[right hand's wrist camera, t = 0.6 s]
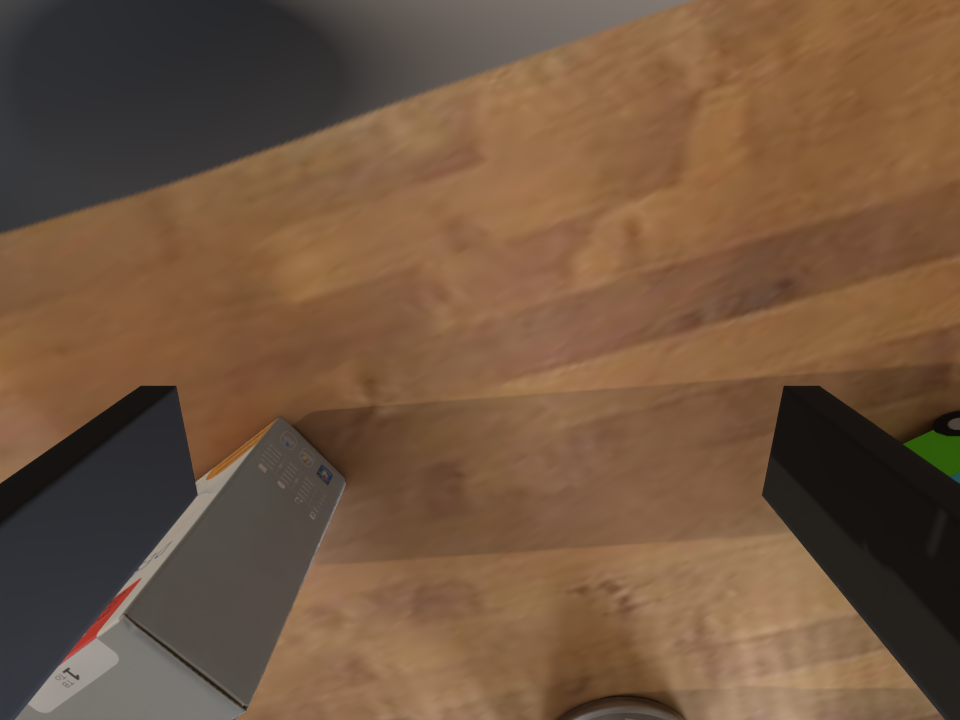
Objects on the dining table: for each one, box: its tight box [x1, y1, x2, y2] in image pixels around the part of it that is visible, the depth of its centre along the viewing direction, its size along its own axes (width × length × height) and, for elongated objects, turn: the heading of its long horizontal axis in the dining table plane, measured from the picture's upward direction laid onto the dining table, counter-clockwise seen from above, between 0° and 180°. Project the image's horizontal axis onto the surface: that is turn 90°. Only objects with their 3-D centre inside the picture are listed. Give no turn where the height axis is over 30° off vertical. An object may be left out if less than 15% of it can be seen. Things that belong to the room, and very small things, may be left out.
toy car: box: [903, 411, 960, 484], centre depth 40 cm, size 10×13×10 cm
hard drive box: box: [15, 417, 346, 720], centre depth 36 cm, size 16×8×20 cm, turn 128°
